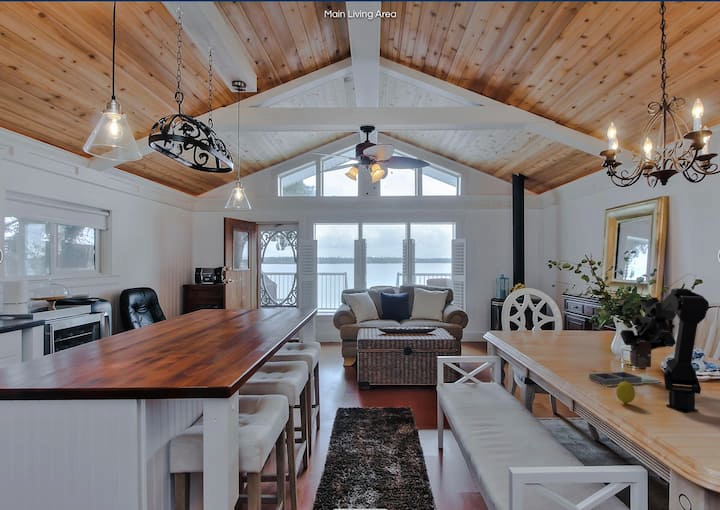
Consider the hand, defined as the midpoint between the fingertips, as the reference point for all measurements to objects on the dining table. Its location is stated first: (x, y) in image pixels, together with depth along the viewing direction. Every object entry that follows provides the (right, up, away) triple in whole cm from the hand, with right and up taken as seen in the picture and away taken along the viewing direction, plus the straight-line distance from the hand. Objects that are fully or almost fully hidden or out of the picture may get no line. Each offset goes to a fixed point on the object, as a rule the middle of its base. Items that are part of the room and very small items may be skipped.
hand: (639, 349), depth 179 cm
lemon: (-25, -12, -31) cm, 42 cm away
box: (0, -7, -1) cm, 7 cm away
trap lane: (-8, -12, -3) cm, 15 cm away
